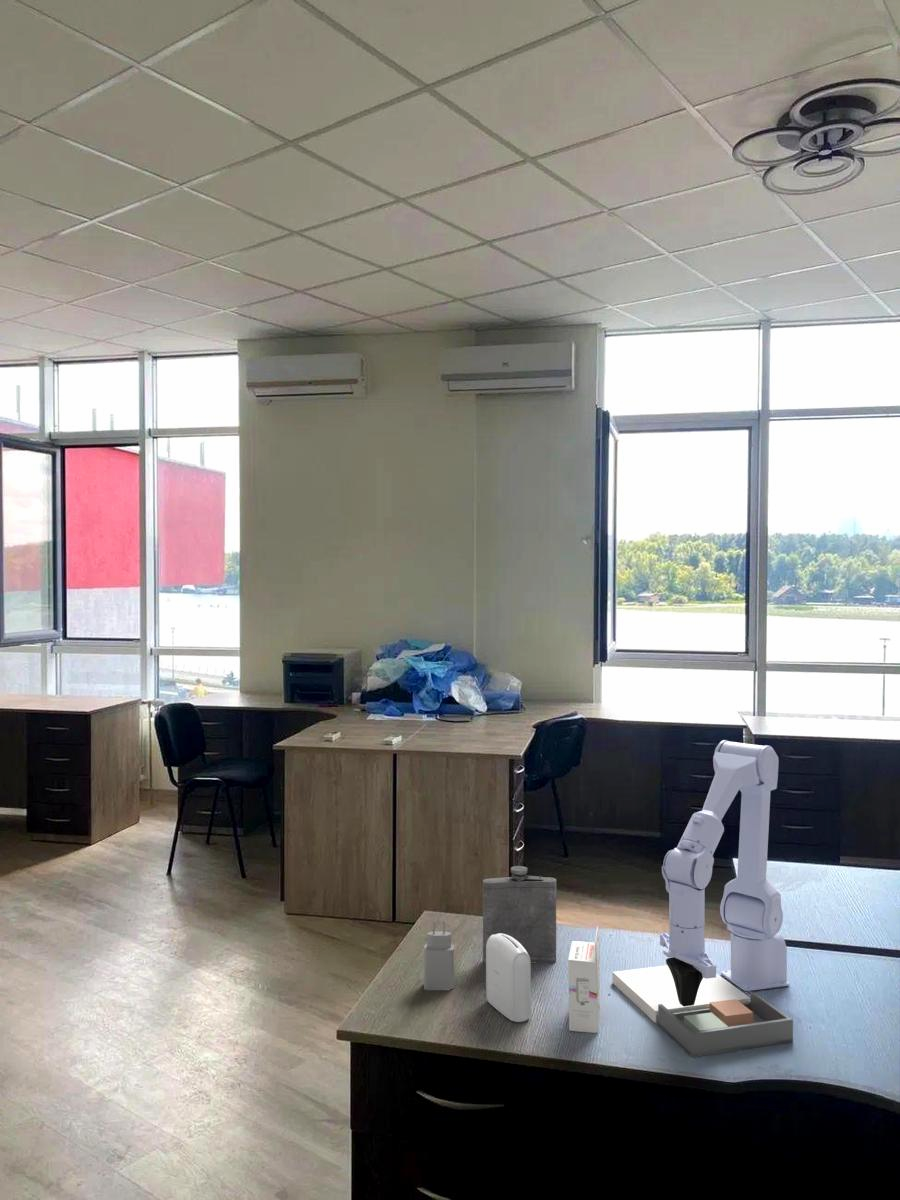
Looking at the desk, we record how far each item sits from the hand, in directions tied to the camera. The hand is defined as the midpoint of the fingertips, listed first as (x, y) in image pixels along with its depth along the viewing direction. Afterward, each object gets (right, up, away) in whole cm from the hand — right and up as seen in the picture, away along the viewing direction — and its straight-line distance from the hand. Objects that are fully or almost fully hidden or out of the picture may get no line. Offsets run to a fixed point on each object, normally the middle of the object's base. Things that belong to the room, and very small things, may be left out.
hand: (686, 1004), depth 147 cm
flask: (-26, -3, +24) cm, 36 cm away
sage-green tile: (+1, 0, -6) cm, 6 cm away
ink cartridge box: (-17, -3, 0) cm, 17 cm away
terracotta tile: (+7, -2, -1) cm, 7 cm away
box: (+5, -3, -4) cm, 7 cm away
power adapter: (-41, -3, +13) cm, 44 cm away
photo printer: (-30, -3, +4) cm, 30 cm away
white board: (+1, -3, +9) cm, 10 cm away
